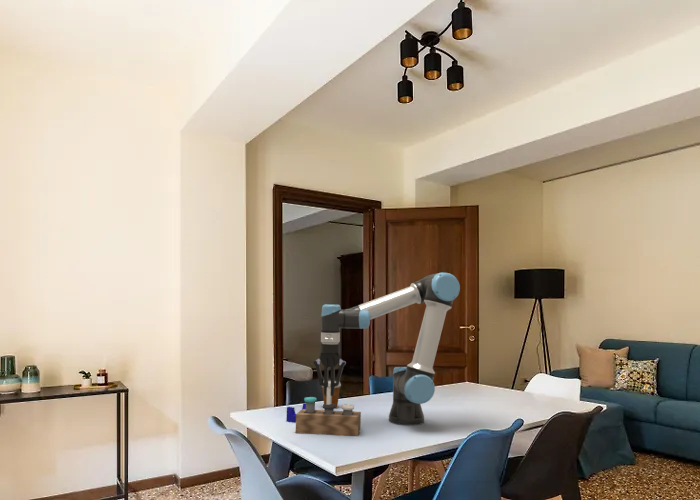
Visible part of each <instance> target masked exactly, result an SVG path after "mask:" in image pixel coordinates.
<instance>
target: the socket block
mask: <svg viewBox="0 0 700 500" xmlns="http://www.w3.org/2000/svg"><path fill="white" fill-rule="evenodd" d="M361 412H362V411H353V410H352V415H343V410H334V413H333V414H324V409H315V414H313V413H306V409H302V408H301V410H299V411H298V412H297V413H296V423H295V434H308V435H309V434H311V435H329V436H331V435H332V436H346V437H347V436H349V437H359V433H360V432H361V429H362V427H361V423H362V422H361V420H362V417H361V416H362V414H361Z"/></svg>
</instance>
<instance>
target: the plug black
mask: <svg viewBox="0 0 700 500" xmlns="http://www.w3.org/2000/svg"><path fill="white" fill-rule="evenodd" d="M334 408H335V404H330V405H326V404H324V403H323V404H322V409H323V410H324V414H333V413H334V411H335V410H334ZM335 409H336V408H335Z"/></svg>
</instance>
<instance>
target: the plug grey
mask: <svg viewBox="0 0 700 500" xmlns="http://www.w3.org/2000/svg"><path fill="white" fill-rule="evenodd" d="M341 409H342V411H343V415H352V411H353V410H354V409H355V404H349V403H348V404H347V403H344V404H341Z"/></svg>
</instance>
